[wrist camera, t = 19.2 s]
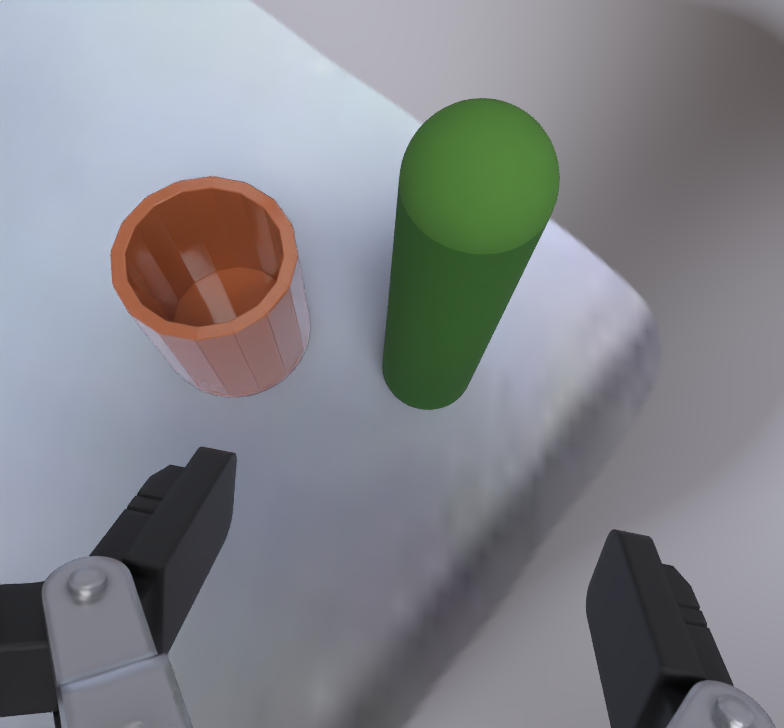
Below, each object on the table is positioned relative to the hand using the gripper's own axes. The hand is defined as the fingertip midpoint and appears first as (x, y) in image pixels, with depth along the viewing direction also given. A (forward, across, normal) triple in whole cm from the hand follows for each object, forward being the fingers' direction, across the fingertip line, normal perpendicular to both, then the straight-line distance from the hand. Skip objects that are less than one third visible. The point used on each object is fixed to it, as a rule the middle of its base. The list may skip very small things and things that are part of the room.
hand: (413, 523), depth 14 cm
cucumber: (+14, 0, +3) cm, 15 cm away
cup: (+14, +8, +3) cm, 17 cm away
